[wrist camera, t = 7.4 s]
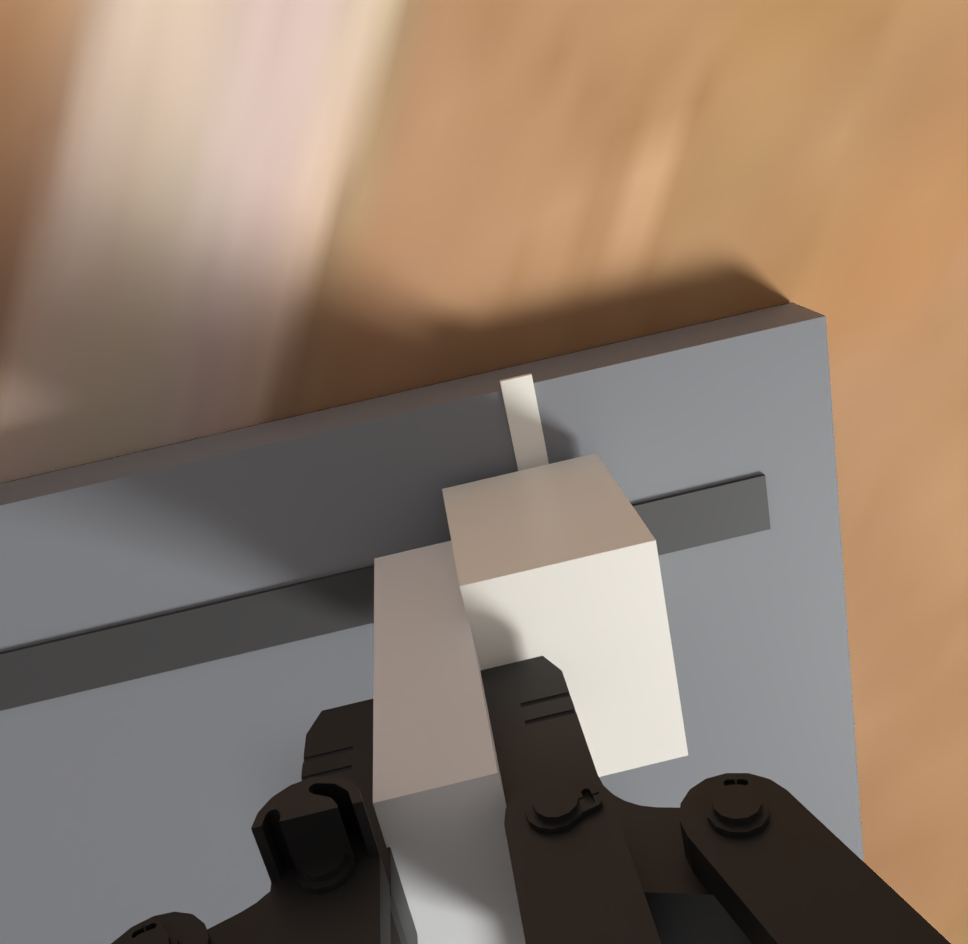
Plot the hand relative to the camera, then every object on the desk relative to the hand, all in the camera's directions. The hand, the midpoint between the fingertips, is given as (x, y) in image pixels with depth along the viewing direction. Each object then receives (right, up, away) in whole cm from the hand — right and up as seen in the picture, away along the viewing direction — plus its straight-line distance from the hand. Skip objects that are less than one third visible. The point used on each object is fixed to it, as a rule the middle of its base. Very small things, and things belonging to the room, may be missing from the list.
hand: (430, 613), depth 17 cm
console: (-1, -3, +4) cm, 6 cm away
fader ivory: (+2, +1, +1) cm, 2 cm away
